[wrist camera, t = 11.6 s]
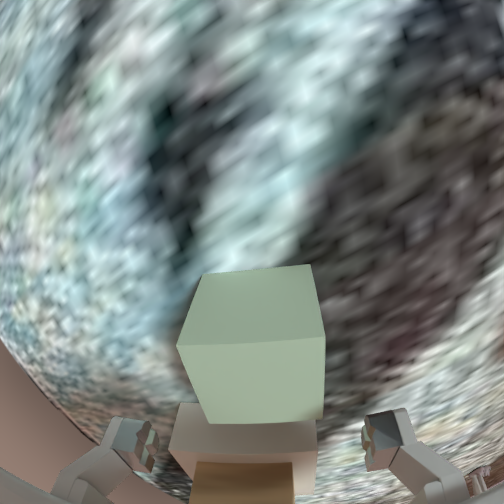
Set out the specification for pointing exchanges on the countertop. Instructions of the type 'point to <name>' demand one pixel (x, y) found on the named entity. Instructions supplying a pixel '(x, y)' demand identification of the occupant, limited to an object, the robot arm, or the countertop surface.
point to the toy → (479, 479)
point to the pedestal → (245, 444)
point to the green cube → (256, 346)
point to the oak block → (243, 483)
